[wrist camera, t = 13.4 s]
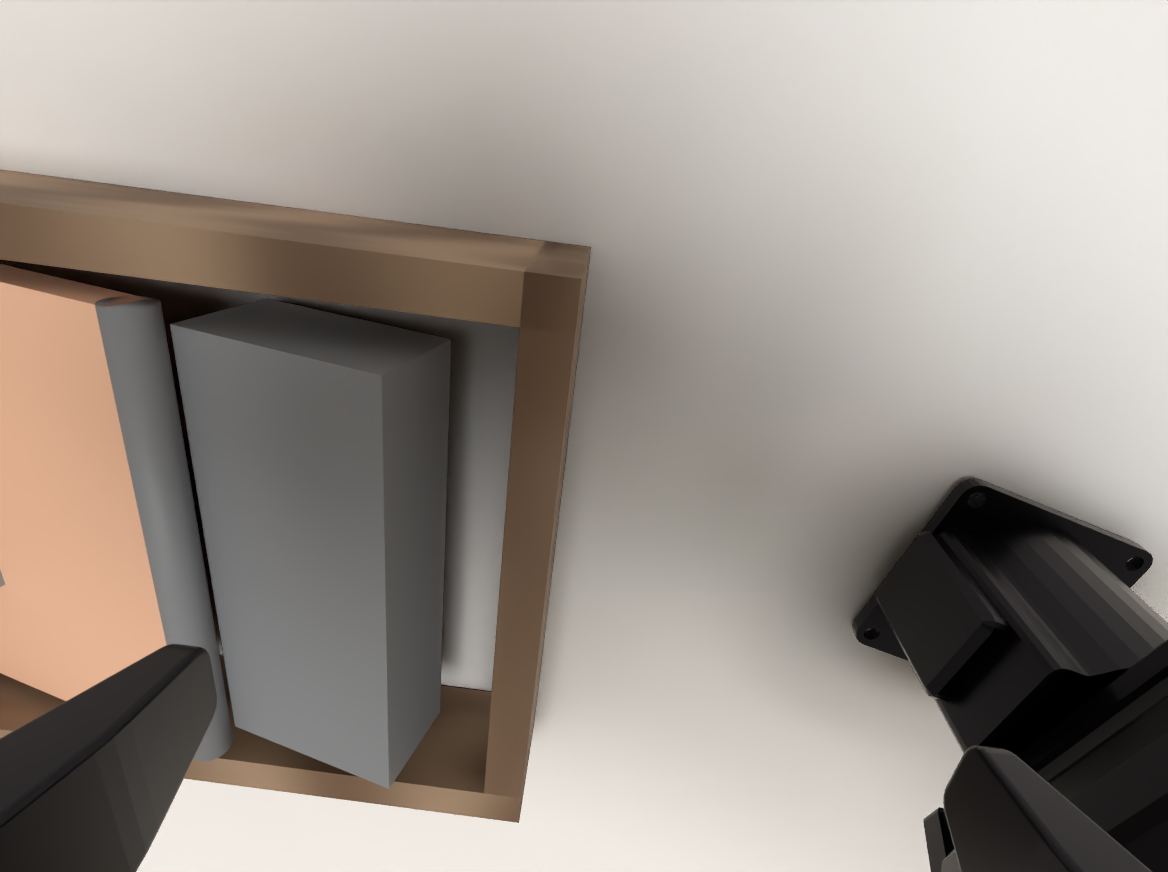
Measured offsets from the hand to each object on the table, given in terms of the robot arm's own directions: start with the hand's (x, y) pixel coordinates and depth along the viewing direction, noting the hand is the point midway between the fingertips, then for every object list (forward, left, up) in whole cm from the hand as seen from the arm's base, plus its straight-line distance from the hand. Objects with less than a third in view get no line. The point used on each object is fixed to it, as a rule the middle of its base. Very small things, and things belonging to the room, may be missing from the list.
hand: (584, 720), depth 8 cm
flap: (+12, +9, -12) cm, 19 cm away
